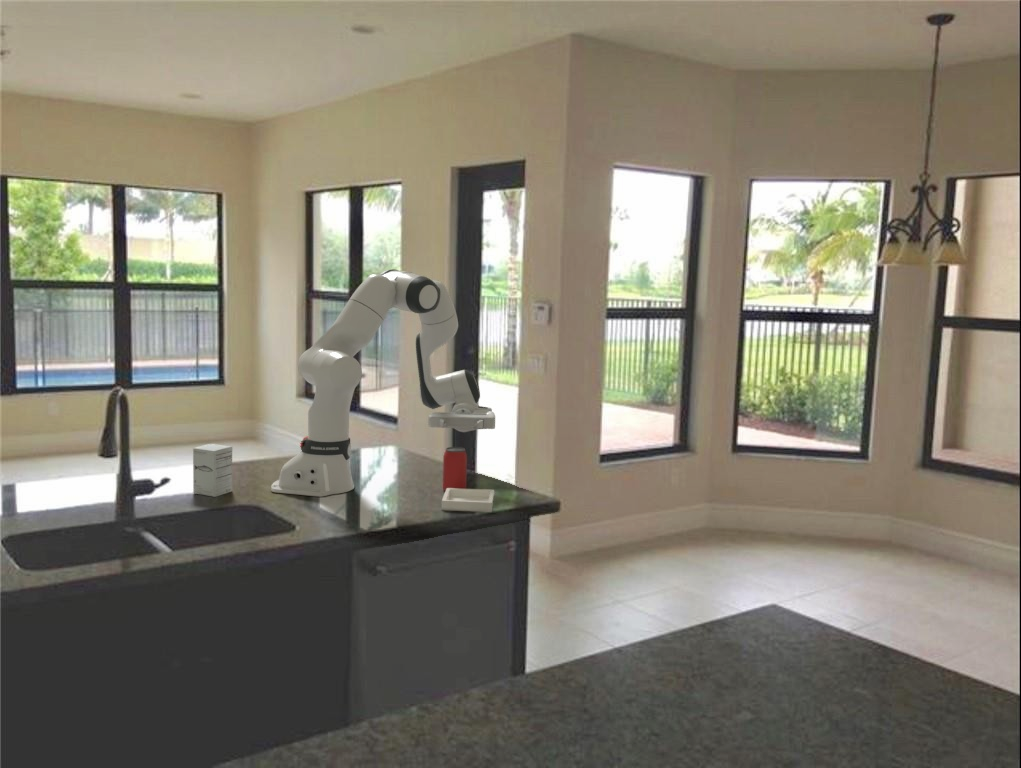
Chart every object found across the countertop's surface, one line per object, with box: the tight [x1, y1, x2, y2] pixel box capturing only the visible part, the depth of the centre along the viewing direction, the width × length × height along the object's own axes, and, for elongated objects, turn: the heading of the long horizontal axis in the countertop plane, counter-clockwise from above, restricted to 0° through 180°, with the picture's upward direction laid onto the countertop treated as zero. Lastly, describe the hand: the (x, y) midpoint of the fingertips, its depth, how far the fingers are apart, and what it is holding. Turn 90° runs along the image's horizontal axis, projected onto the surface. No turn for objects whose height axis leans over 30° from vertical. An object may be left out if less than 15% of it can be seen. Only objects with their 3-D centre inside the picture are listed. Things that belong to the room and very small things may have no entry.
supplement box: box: [192, 443, 233, 498], centre depth 225 cm, size 7×7×13 cm
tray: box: [441, 488, 495, 513], centre depth 223 cm, size 13×13×2 cm
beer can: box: [442, 446, 468, 492], centre depth 236 cm, size 7×7×12 cm
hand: (460, 425), depth 247 cm, fingers open, 8 cm apart
